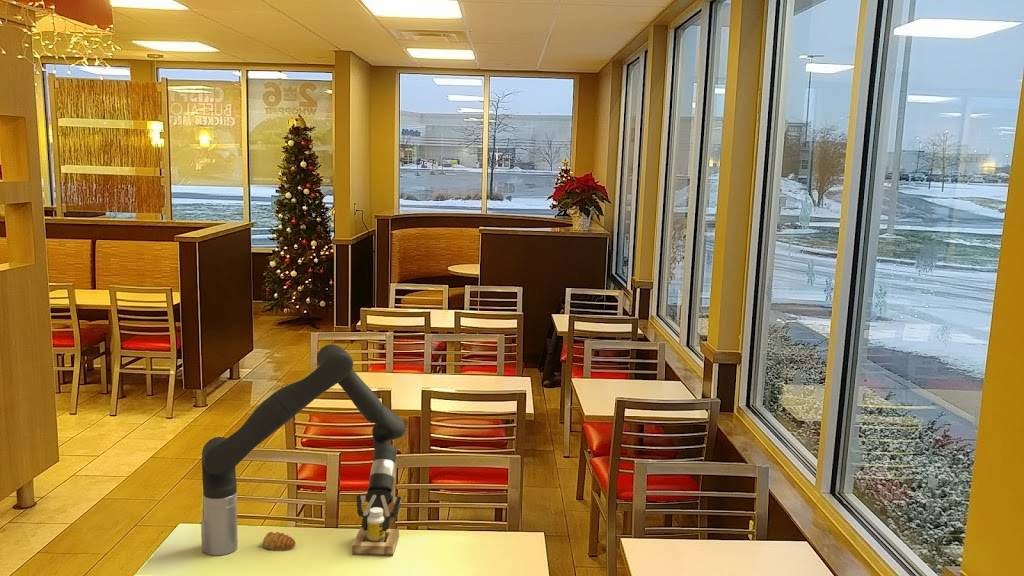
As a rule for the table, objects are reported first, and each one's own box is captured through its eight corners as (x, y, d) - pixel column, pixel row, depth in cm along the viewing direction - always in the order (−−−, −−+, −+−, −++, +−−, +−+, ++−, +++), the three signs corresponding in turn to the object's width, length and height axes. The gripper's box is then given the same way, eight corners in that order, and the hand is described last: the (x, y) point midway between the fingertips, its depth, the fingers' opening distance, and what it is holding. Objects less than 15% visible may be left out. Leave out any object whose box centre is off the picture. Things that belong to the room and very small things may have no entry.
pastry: (300, 543, 242) (300, 532, 241) (288, 553, 235) (288, 541, 235) (271, 539, 244) (271, 528, 244) (260, 549, 237) (260, 537, 237)
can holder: (352, 554, 235) (352, 545, 235) (360, 537, 247) (360, 527, 247) (392, 556, 235) (392, 546, 235) (398, 538, 247) (398, 529, 247)
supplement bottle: (381, 545, 238) (381, 514, 237) (363, 543, 239) (364, 512, 238) (387, 537, 243) (387, 507, 242) (370, 535, 244) (370, 505, 243)
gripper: (357, 471, 246) (349, 524, 236) (404, 472, 246) (397, 526, 236) (360, 481, 252) (352, 533, 242) (406, 482, 252) (400, 535, 242)
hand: (375, 529), depth 239 cm, fingers closed on supplement bottle, 5 cm apart
